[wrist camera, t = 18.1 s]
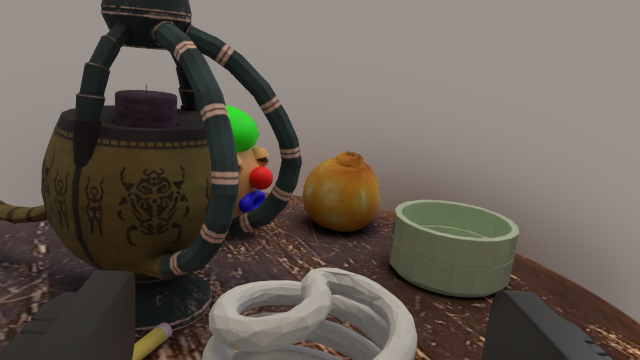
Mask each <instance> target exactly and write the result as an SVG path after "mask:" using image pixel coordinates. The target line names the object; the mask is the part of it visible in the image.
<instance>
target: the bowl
mask: <svg viewBox="0 0 640 360" xmlns="http://www.w3.org/2000/svg"><path fill="white" fill-rule="evenodd" d="M518 235H519V228H518V226H517V225H516V224H515V223H514V222H513V221H511V220H509V219H508V218H506V217H504V216H502V215H500V214H498V213H495V212H492V211H490V210H487V209H483V208H480V207H476V206H472V205H468V204H462V203H457V202H450V201H439V200H417V201H409V202H405V203H403V204H400V205H399V206H398V207H397V208H396V209H395V213H394V220H393V227H392V235H391V242H390V250H389V261H390V264H391V266H392V267H393V268H394V269H395V270H396V272H397V273H398V274H399V275H400V276H401V277H402V278H404V279H405V280H407V281H408V282H410V283H412V284H414V285H416V286H418V287H421V288H423V289H426V290H429V291H432V292H436V293H439V294H444V295H449V296H456V297H483V296H488V295H491V294H494V293H496V292H497V291H500V290H502V289H503V288H505V287H506V286H507V285H508V284H509V280H510V275H511V270H512V265H513V260H514V255H515V250H516V245H517V240H518Z"/></svg>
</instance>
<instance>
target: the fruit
mask: <svg viewBox="0 0 640 360" xmlns="http://www.w3.org/2000/svg"><path fill="white" fill-rule="evenodd" d="M379 191H380V190H379V185H378V182H377V179H376V176H375V174H374V172H373V171H372V169H371V168H370V166H369V165H367V164H366V163H365V162H363V158H362V156H361V155H360V154H357V153H354V152H349V151H347V152H344V153H340V154H339V155H338V156H336V157H335V158H332V159H328V160H326V161H324V162H322V163H320V164H319V165H318V166H317V167H316V168H314V169H313V170H312V172H311V173H310V174H309V176H308V177H307V179H306V182H305V185H304V191H303V200H304V205H305V208H306V211H307V212H308V214H309V216H310V217H311V218H312V219H313V220H314V221H315V222H316V223H317V224H319V225H320V226H322V227H325V228H327V229H331V230H335V231H343V232H350V231H356V230H359V229H361V228H363V227H365V226H366V225H367V224H368V223H370V221H371V220H372V219H373V217H374V216H375V214H376V212H377V210H378V208H379V205H380V192H379Z"/></svg>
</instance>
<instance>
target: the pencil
mask: <svg viewBox="0 0 640 360" xmlns="http://www.w3.org/2000/svg"><path fill="white" fill-rule="evenodd" d="M171 334H172V329H171V327H170V325H169V324H167V323H161V324H160V325H158V326H156V327H155V328H154V329H153V330H152V331H151V332H149V333H148V334H147V335H145V336H144V337H143V338H142V339H140V340H139V341H138V342H136V343H135V345H134V352H133V358H132V360H142V359H144V358H145V357H146V356H147V355H148V354H149V353H151V352H152V351H153V350H154V349H155V348H157V347H158V346H159V345H160V344H161V343H163V342H164V341H166V340H167V338H168V337H170V336H171Z"/></svg>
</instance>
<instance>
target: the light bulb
mask: <svg viewBox="0 0 640 360" xmlns="http://www.w3.org/2000/svg"><path fill="white" fill-rule="evenodd" d="M266 305H296V307H294V308H293V309H291V310H290V311H288V312H284V313H261V314H256V315H251V316H246V317H245V316H241V315H239V314H240V313H242V312H244V311H246V310H248V309H252V308H255V307H259V306H266ZM328 314H331V315H334V316H336V317H338V318H340V319H342V320H344V321H347V322H349V323H351V324H353V325H354V326H356V327H358V328H359V329H360V330H361V331H362V332H364V333H365V334H366V335H367V336H368V337H370V338H371V339H372V340H373V342H374V343H375V344H376V345H377V346H378V347H377V346H376V345H374V344H373V343H372V342H371V341H369V340H367V339H366V338H364V337H363V336H361V335H359V334H358V333H356V332H354V331H352V330H350V329H348V328H346V327H344V326H342V325H340V324H337V323H334V322H330V321H327V320H326V318H327V316H328ZM209 328H210V330H211V332H212V334H213V335H212V337H211V338H210V340H209V341H208V343H207V345H206V347H205V349H204V351H203V357H202V360H342V359H340V358H338V357H336V356H333V355H331V354H328V353H325V352H323V351H319V350H315V349H311V348H306V347H302V346H291V345H292V344H294V343H297V342H299V341H302V340H306V341H313V342H316V343H319V344H322V345H325V346H327V347H330V348H333V349H335V350H337V351H339V352H341V353H342V354H344V355H346V356H348V357H350V358H351V359H353V360H413V358H414V355H415V352H416V349H417V333H416V329H415V325H414V320H413V317H412V315H411V314H410V313H409V311H408V310H407V308H406V307H405V306H404V304H403V303H402V302H401V301H400V300H399V299H397V298H396V297H395V296H394V295H392V294H391V293H390V292H389V291H387V290H386V289H385V288H383V287H382V286H381V285H379V284H378V283H376V282H374V281H372V280H370V279H368V278H366V277H364V276H361V275H358V274H354V273H351V272H348V271H344V270H341V269H338V268H318V269H314V270H310V272H309V273H308V274H307V275H306V276H305V277H304V279H303V280H302V282H296V281H288V280H282V281H260V282H253V283H248V284H244V285H241V286H237V287H235V288H233V289H231V290H229V291H227V292H225V293H224V294H223V295H221V296H220V297H219V298H218V300H217V301H216V302H215V304H214V305H213V306H212V309H211V312H210V314H209ZM234 350H240V351H238V352H236V353H233V352H234Z"/></svg>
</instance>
